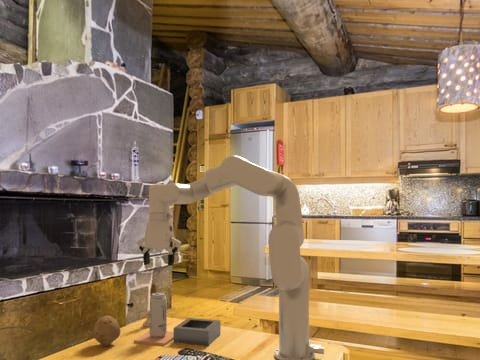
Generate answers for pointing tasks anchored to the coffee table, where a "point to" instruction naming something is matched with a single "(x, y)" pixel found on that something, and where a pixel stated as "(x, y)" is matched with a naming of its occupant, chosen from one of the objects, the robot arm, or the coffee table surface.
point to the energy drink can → (158, 315)
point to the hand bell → (147, 322)
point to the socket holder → (197, 331)
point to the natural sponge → (106, 330)
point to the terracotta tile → (159, 341)
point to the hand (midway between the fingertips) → (158, 264)
